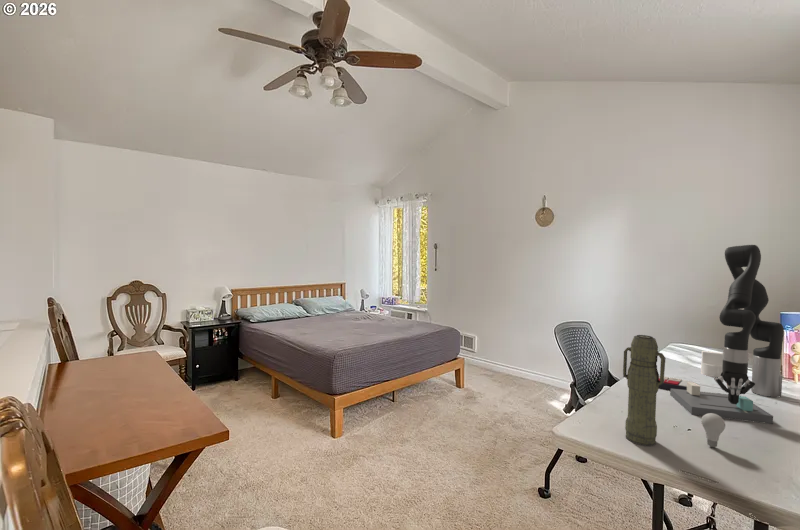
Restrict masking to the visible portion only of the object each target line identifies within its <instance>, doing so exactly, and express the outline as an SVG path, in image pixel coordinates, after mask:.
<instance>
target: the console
mask: <svg viewBox="0 0 800 530" xmlns="http://www.w3.org/2000/svg"><path fill="white" fill-rule="evenodd" d="M669 391H670V392H669V393H670V396H671V397H672V398H673V399H674V401H676V402H677V403H678V404H680V405H681V406H682V408H684V409H685V410H686V411H687V412H688V413H690V414H691V415H694V416H702V417H703V416H704V415H705V414H708V413H714V414H717V415H719V416H720V417H721V418H722V419H726V420H728V419H729V420H736V421H737V420H739V421H745V422H752V423H760V422H765V423H764V424H769V423H773V424H774V415H772V414H771V413H769V412H767V411H766V410H765V409H764V408H761V407H760V406H758V405H757V404H755V403H753V411H744V410H742V409H740V408H739V407H737V406H736V404H731V403H730V402H729V401H728V393H719V392H708V391H700V396H697V395H691V394H690V393H689V392H687V390H681V389H671V390H669ZM753 421H754V422H753Z"/></svg>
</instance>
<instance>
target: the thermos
mask: <svg viewBox="0 0 800 530" xmlns="http://www.w3.org/2000/svg"><path fill="white" fill-rule="evenodd" d="M658 349H659V347H658V343H657V340H656V338H654V337H653V336H651V335H645V334H637V335H634V336H633V338H632V340H631V343H630V347H626V348H625V349H624V351H623V365H622V366H623V367H622V368H623V369H622V375H623V378H625V379H626V380H627V383H626V385H627V388H628V396H627V398H628V399H627V403H628V404H627V417H626V419H625V426H624V428H625V429H624V430H625V438H626V440H628V441H629V442H631V443H632V444H633V443H634V444H635V445H638V446H644V447H654V446H655V445H656V444H657V441H656V438H657V435H658V434H657V433H658V425H657V421H656V412H657V411H656V409H657V393H658V391H659V388H658V386H659V385H661V384H663V383H664V377H665V369H666V356H665V355H664V354H663V352H660V351H659V350H658ZM628 351H629V352H630V363H629V364H630V365H629V366H628V369H627V365H628V364H627V362H628ZM658 357H659V358H660V368H659V369H660V370H659V371H658V365H657V362H658ZM659 372H660V373H659ZM659 376H660V380H659Z"/></svg>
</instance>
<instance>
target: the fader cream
mask: <svg viewBox="0 0 800 530" xmlns="http://www.w3.org/2000/svg"><path fill="white" fill-rule="evenodd" d="M693 382H694V381H692V382H687V392H689V393H690V394H691V395H697V396H700V392H701V386H700V385H699V384H697V383H696V382H694V383H693Z"/></svg>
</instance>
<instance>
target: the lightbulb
mask: <svg viewBox="0 0 800 530" xmlns="http://www.w3.org/2000/svg"><path fill="white" fill-rule="evenodd" d="M700 421H701V424H702V425H701V426H702V427H703V429H704V431H705V436H706V444H707V446H709V447H711V448H712V449H713V448H716V447H718V442H719V440H720V436H721V434H722V433H723V432H724V430H725V429H726V423H725V420H724V418H721V417H720V416H719V415H717V414H714V413H708V414H705V415H704V416H702V417H701V420H700Z"/></svg>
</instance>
